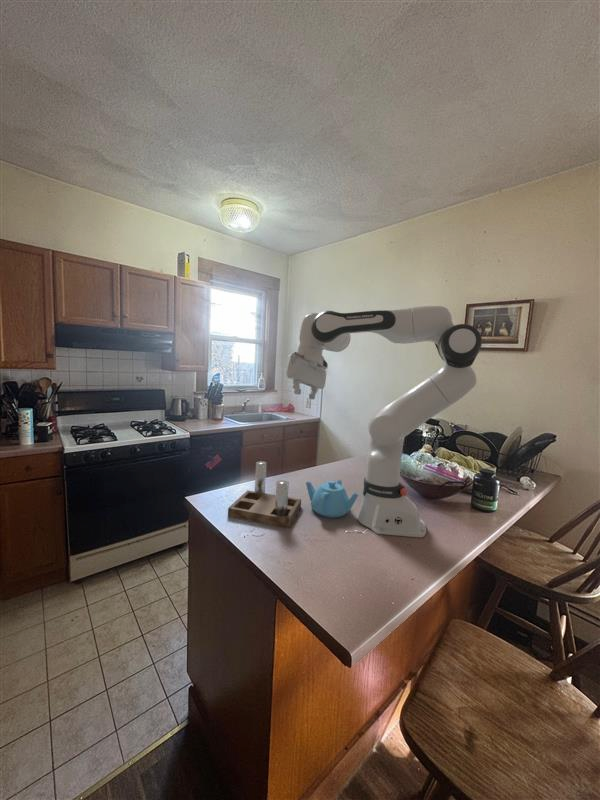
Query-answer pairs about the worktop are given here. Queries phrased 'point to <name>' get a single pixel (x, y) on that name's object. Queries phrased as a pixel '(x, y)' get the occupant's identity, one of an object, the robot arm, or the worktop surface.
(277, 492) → the pin
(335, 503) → the teapot
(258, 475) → the pin
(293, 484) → the worktop surface
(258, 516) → the socket board
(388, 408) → the robot arm
